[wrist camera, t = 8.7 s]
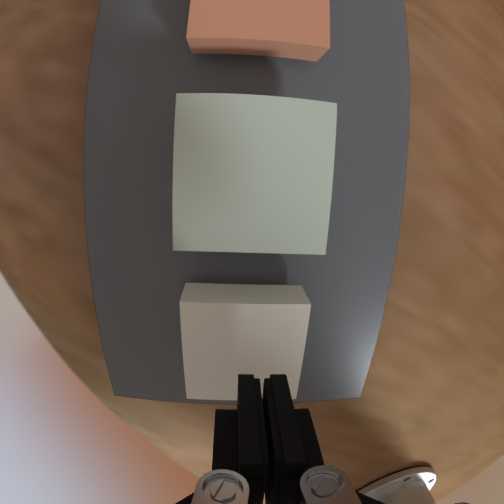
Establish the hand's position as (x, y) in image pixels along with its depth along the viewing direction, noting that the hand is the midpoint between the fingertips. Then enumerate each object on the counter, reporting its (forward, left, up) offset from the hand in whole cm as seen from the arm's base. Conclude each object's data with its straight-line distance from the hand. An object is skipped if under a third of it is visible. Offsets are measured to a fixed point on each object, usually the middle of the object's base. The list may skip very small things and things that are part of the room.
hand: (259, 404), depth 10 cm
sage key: (+8, 0, -3) cm, 8 cm away
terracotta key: (+15, 0, -4) cm, 15 cm away
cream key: (+1, 0, -4) cm, 4 cm away
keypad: (+8, 0, -7) cm, 11 cm away
